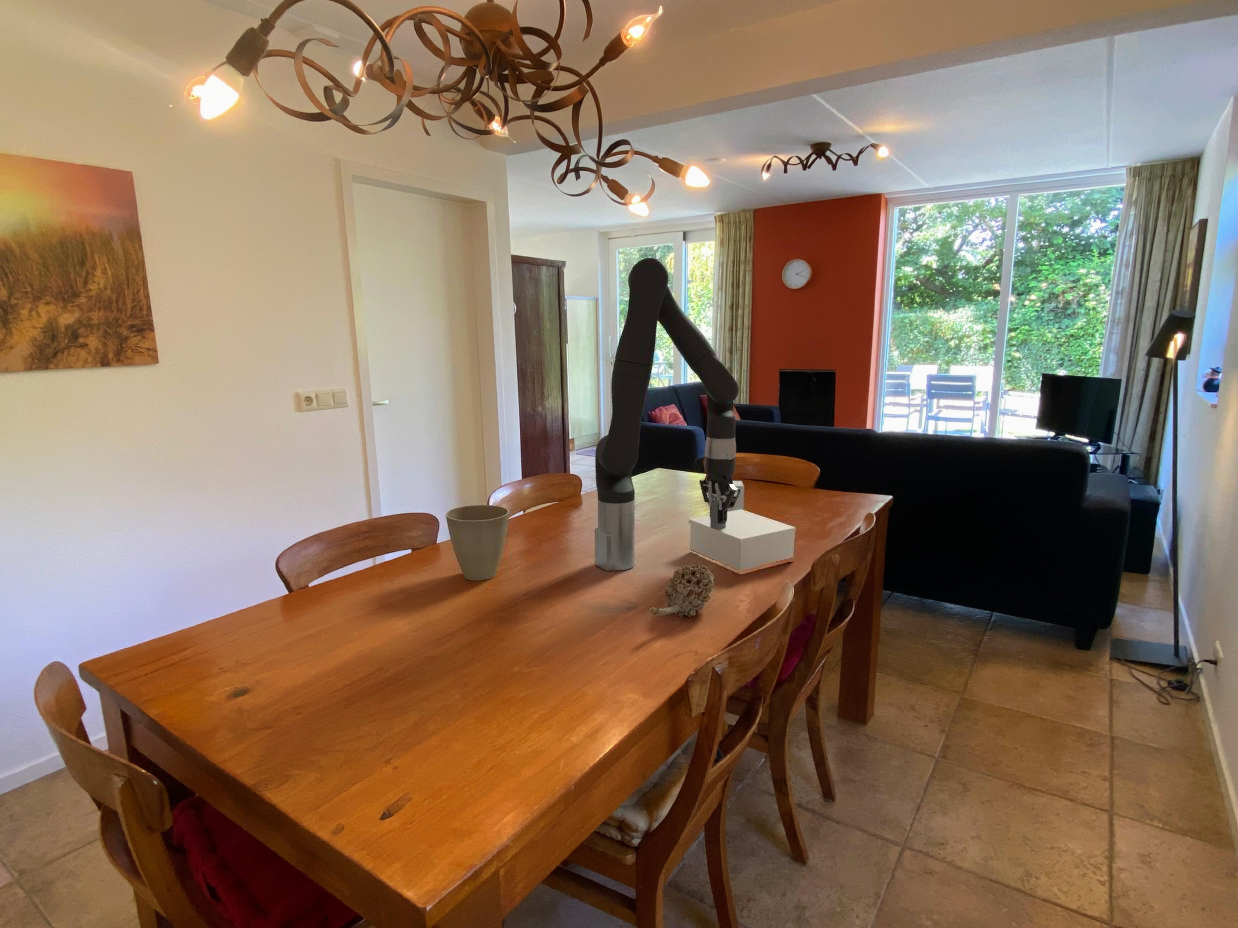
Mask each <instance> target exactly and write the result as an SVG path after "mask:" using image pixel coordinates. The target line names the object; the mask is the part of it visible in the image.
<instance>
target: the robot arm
mask: <svg viewBox="0 0 1238 928" xmlns="http://www.w3.org/2000/svg"><path fill="white" fill-rule="evenodd" d="M669 279H670V278H669V273H668V270H667V267H666V266H665V264H664V263H663V262H662V261H661V260H659V259H657V258H654V257H645V258H642V259H640V260H638V261H637V262H636V263H635V264H634V265H633V266H632V267H631V269H630V271H629V274H628V279H627V283H628V289H629V295H628V304H627V305H628V306H627V313H626V318H625V322H624V325H623V328H622V331H621V334H620V337H619V341H618V344H617V348H616V352H615V356H614V361H613V367H612V373H611V382H610V383H611V385H610V389H611V390H610V391H611V394H610V395H611V408H612V409H611V420H610V425H609V428H608V433H607V434H606V435H604V436H603V437H602V438H601V439H600V440H599V441H598V442H597V445H596V447H595V453H594V458H595V459H594V464H595V465H594V467H595V485H596V491H597V492H596V493H597V527H595V529H594V564H595V565H596V566H598V567H599V568H601V569H602V570H604V571H605V572H609V571H626V570H629V569H631V568H634V566H635V509H636V506H635V503H636V501H635V500H636V499H635V497H636V496H635V494H636V493H635V490H636V489H635V487H634V483H633V478H632V470H633V469H634V468H635V466H636V464H637V462H638V459H639V450H640V449H639V448H640V436H641V434H640V433H641V424H642V420H643V419H642V418H643V415H644V410H645V405H646V401H647V395H648V391H649V387H650V386H649V385H650V381H651V377H652V371H653V365H654V357H655V351H656V343H657V341H656V340H657V330H658V329H657V327H658V322H659V324H660V326H661V327H662V329H664V331H665V332H666V335H668V337H669V339H670V340H671V341H672V343H673V345H674V347H675V348H676V349H677V351H678V352H679V354H680V356H681V357H682V358H683V359H684V361H685V363H686V364H687V365H688V367H689V368H690V369H691V371H692V372H693V373H694V374H696V376H697V377H698V378H699V380H700V381H701V383H702V384H703V386H704V388H705V389H706V391H705V393H706V409H707V421H706V440H705V444H704V445H705V446H704V447H705V449H704V451H705V453H704V473H705V474H706V475H707V476H706V478H704V479H700V480H699V482H698V483H699V487H700V490H701V495H702V498H703V500H704V503H707V504H708V506H709V515H710V520H711V501H713V500H718V505H719V510H718V523H719V524H724V523H726V521H727V510H728V509H729V508H733V507H734V505H735V503H736V501H737V498H738V496H739V494H740V489H739V488H735V487H734V486H733V481H734V480H733V476H734V475H735V473H736V453H737V443H736V431H737V430H736V423H737V422H736V416H735V413H734V410H735V409H734V406H735V405H734V403H735V400H736V399H737V398H738V396H739V390H740V387H739V383H738V382H737V380H736V379H735V377H734V375H733V374H732V373H731V371H730V370H729V369H728V368H727V366H725V364H724V363H723V362H722V361H721V360H720V359H719V357H718V354H717V353H716V351H715V349H714V348H713V347H712V346H711V344H710V342H709V341H708V340H707V338H706V336H705V335H704V334H703V332H702V331H701V329H700V328H699V327H698V326H697V325H696V324H695V323H694V322H693V320H691V318H689V316H688V315H687V314H686V313H685V312H684V310H683V309H682V308H681V306H680V304H678V302H677V300H676V299H675V297H674V295H673V293H672V292H671V289H670V288H669V286H668V285H669V281H670V280H669ZM724 495H725V496H724ZM721 496H724V497H721ZM723 500H724V504H723Z"/></svg>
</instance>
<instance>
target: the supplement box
mask: <svg viewBox="0 0 1238 928" xmlns="http://www.w3.org/2000/svg"><path fill="white" fill-rule="evenodd" d="M732 481H733V486H734V487H735V488H739V489H740V494H739V496H738V498H737V501H736V503H735V505H734V507H733V508H729V509H728V510H727V512H729V511H735V510H740V509H742V510H744V507H745V506H744V504H745V503H744V501H745V499H744V498H745V485H744V484H743V481H742V480H732ZM724 496H725V495H724ZM724 496H721V497H724Z"/></svg>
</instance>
